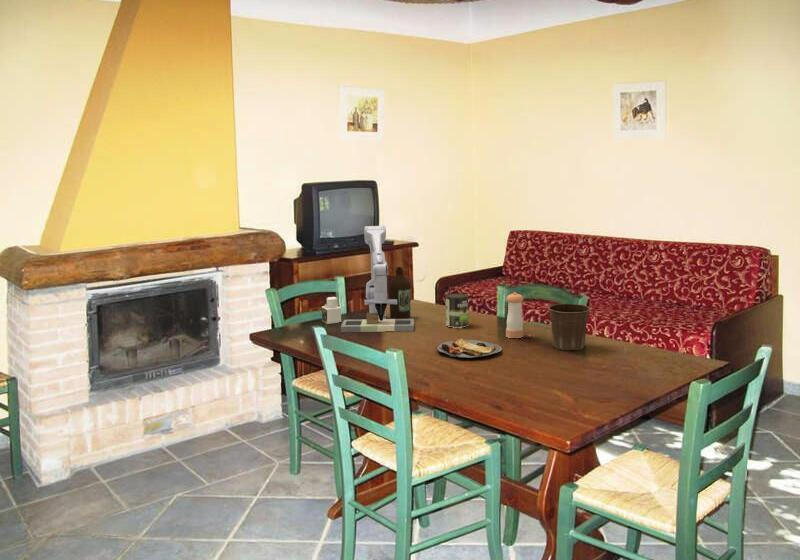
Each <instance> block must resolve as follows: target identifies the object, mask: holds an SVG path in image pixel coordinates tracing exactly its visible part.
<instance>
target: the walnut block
mask: <svg viewBox="0 0 800 560" xmlns="http://www.w3.org/2000/svg"><path fill="white" fill-rule="evenodd" d="M366 319H367V324H378V313H369V312H366Z"/></svg>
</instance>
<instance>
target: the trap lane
mask: <svg viewBox="0 0 800 560" xmlns="http://www.w3.org/2000/svg"><path fill="white" fill-rule="evenodd" d="M385 331H394V332H414V331H415V319H414V318H410V319H391V318H385V319H383V321H380V319H378V324H367V318H366V319H365V318H364V319H361V318H360V319H344V320H343V321H342V322H341V326H340V332H341V333H374V332H375V333H377V332H378V333H381V332H383V333H384V332H385Z"/></svg>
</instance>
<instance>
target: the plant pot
mask: <svg viewBox="0 0 800 560" xmlns="http://www.w3.org/2000/svg"><path fill="white" fill-rule="evenodd" d="M547 310H549V318H550V323H551V324H550V325H551V335H552V347H553V346H554V347H553V348H554V349H556V350H559V349H561V350H560V351H563V350H572V351H575V350H577V351H580V350H579V349H581V350H583V349H584V348H585V345H586V344H585V343H586V342H585V341H586V334H587V326H588V319H589V314H590V311H591V307H589V306H587V305H584V304H578V303H577V304H576V303H557V304H552V305H549V306H548V307H547ZM582 348H583V349H582Z"/></svg>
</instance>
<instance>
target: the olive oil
mask: <svg viewBox="0 0 800 560" xmlns="http://www.w3.org/2000/svg"><path fill="white" fill-rule="evenodd" d="M403 270H404V268H403V266H402V265H397V266H395V275H394V276H393V277H392V278H391V279H390V280H389V283H388V285H387V290H388V299H397V304H389V317H390V318H389V319H409V318H410V319H411V310H412V307H411V299H412V298H411V297H412V285H411V281H410V280H409V279H408V278H407V277H406V276H405V274H404V271H403Z"/></svg>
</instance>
